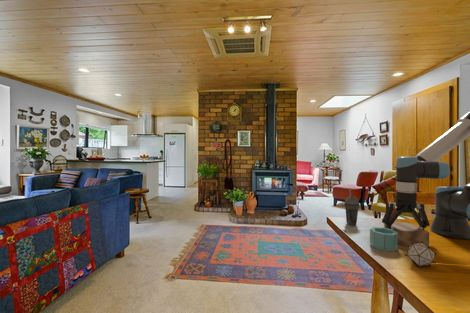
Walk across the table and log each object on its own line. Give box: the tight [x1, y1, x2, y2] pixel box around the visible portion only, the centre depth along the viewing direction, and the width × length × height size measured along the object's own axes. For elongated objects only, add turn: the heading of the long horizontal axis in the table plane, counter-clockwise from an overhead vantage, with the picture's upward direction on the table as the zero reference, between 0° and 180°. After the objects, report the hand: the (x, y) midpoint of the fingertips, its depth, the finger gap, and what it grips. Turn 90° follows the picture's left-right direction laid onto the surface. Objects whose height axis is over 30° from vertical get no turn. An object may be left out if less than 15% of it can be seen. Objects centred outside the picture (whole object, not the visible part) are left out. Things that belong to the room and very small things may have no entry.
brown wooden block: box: [383, 221, 430, 247], centre depth 104 cm, size 11×13×6 cm
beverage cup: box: [344, 188, 360, 227], centre depth 126 cm, size 7×7×20 cm
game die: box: [404, 241, 438, 269], centre depth 81 cm, size 9×8×10 cm
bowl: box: [369, 226, 399, 252], centre depth 96 cm, size 9×9×7 cm
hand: (404, 240), depth 104 cm, fingers open, 11 cm apart
